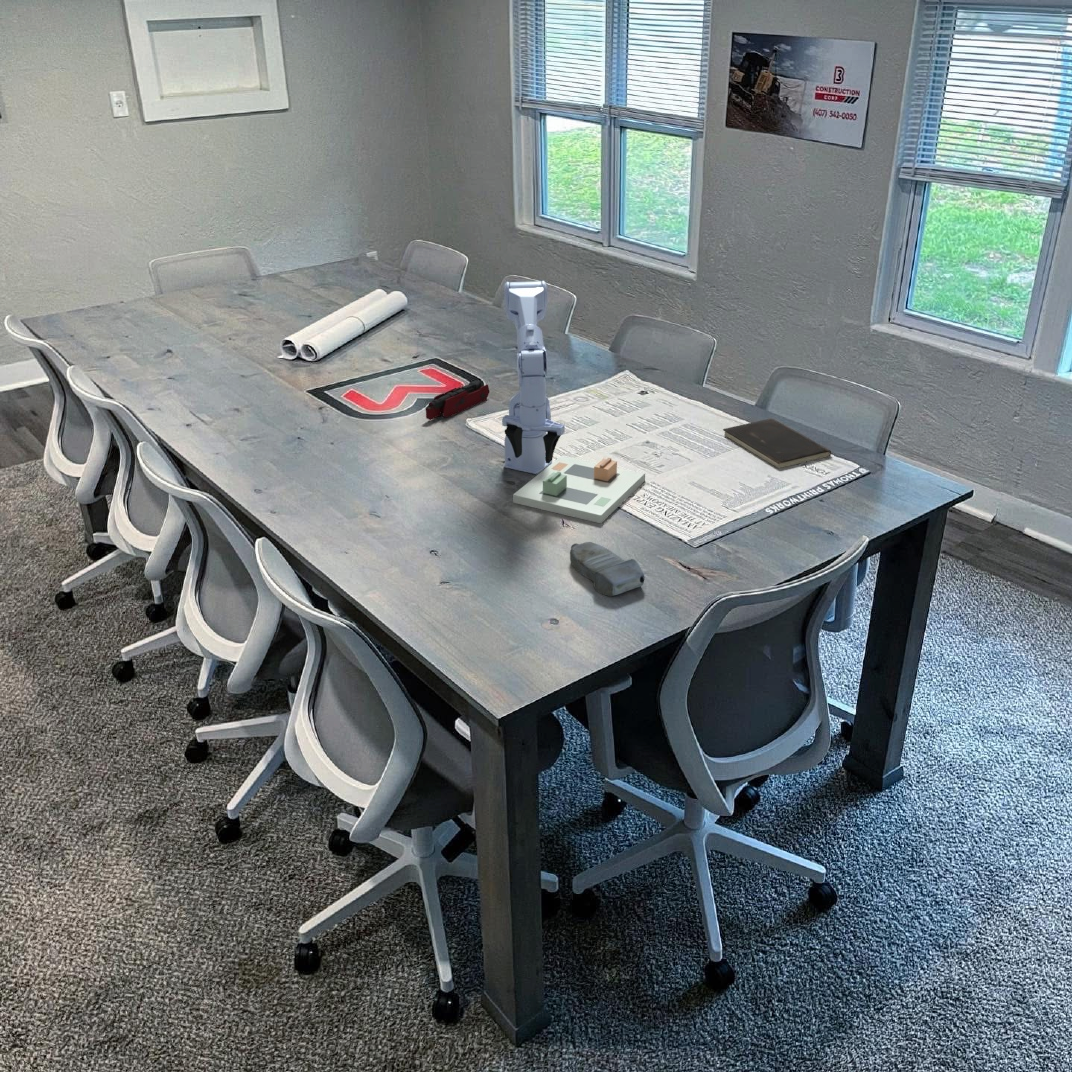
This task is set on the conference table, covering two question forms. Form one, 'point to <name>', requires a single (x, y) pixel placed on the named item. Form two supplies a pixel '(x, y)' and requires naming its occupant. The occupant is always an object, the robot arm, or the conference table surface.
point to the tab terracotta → (605, 469)
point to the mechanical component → (457, 400)
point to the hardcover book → (776, 443)
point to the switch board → (580, 490)
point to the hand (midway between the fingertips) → (533, 458)
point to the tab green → (554, 483)
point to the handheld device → (606, 568)
